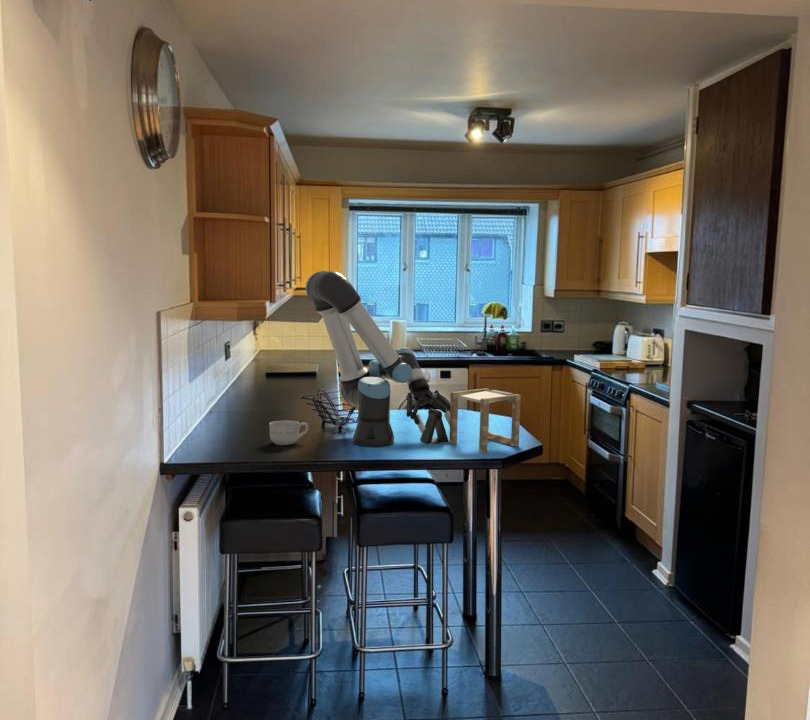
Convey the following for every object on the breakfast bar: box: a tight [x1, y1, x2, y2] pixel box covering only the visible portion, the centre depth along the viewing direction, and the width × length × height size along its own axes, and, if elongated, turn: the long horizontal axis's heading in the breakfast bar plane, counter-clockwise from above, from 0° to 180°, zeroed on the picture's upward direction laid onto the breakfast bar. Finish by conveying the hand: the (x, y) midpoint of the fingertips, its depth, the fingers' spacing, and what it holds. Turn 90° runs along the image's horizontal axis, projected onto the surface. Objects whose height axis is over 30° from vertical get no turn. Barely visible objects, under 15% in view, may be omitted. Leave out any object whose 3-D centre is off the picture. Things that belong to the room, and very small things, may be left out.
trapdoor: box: [459, 389, 514, 404], centre depth 264 cm, size 13×16×3 cm
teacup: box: [268, 420, 309, 446], centre depth 260 cm, size 14×11×8 cm
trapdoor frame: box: [448, 387, 522, 454], centre depth 264 cm, size 18×18×19 cm
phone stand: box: [419, 407, 449, 445], centre depth 268 cm, size 9×6×12 cm, turn 113°
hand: (438, 428), depth 267 cm, fingers open, 13 cm apart
